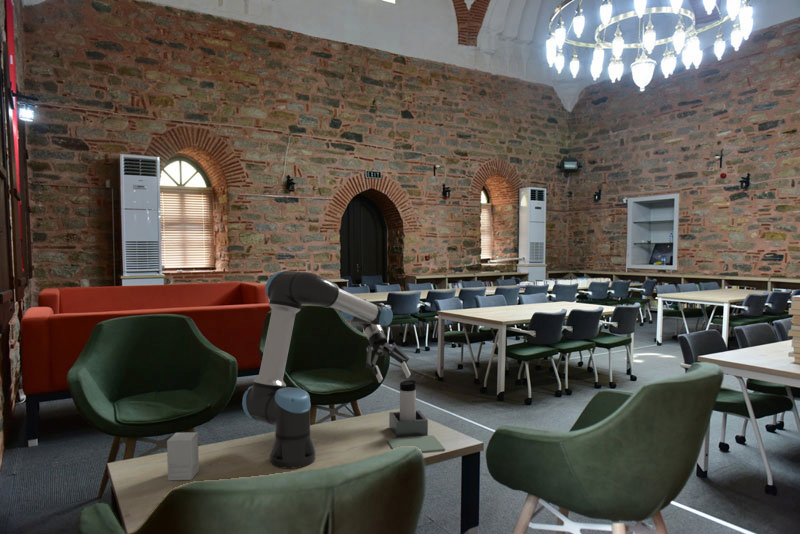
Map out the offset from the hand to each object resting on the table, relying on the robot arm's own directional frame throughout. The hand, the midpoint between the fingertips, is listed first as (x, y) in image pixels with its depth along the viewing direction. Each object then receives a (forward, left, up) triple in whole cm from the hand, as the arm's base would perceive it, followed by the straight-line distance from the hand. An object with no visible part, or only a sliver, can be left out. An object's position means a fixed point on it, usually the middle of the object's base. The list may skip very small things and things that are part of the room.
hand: (395, 378), depth 213 cm
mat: (+2, -24, -19) cm, 31 cm away
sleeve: (+3, -9, -19) cm, 21 cm away
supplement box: (-76, -32, -19) cm, 85 cm away
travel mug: (+3, -9, -19) cm, 21 cm away
